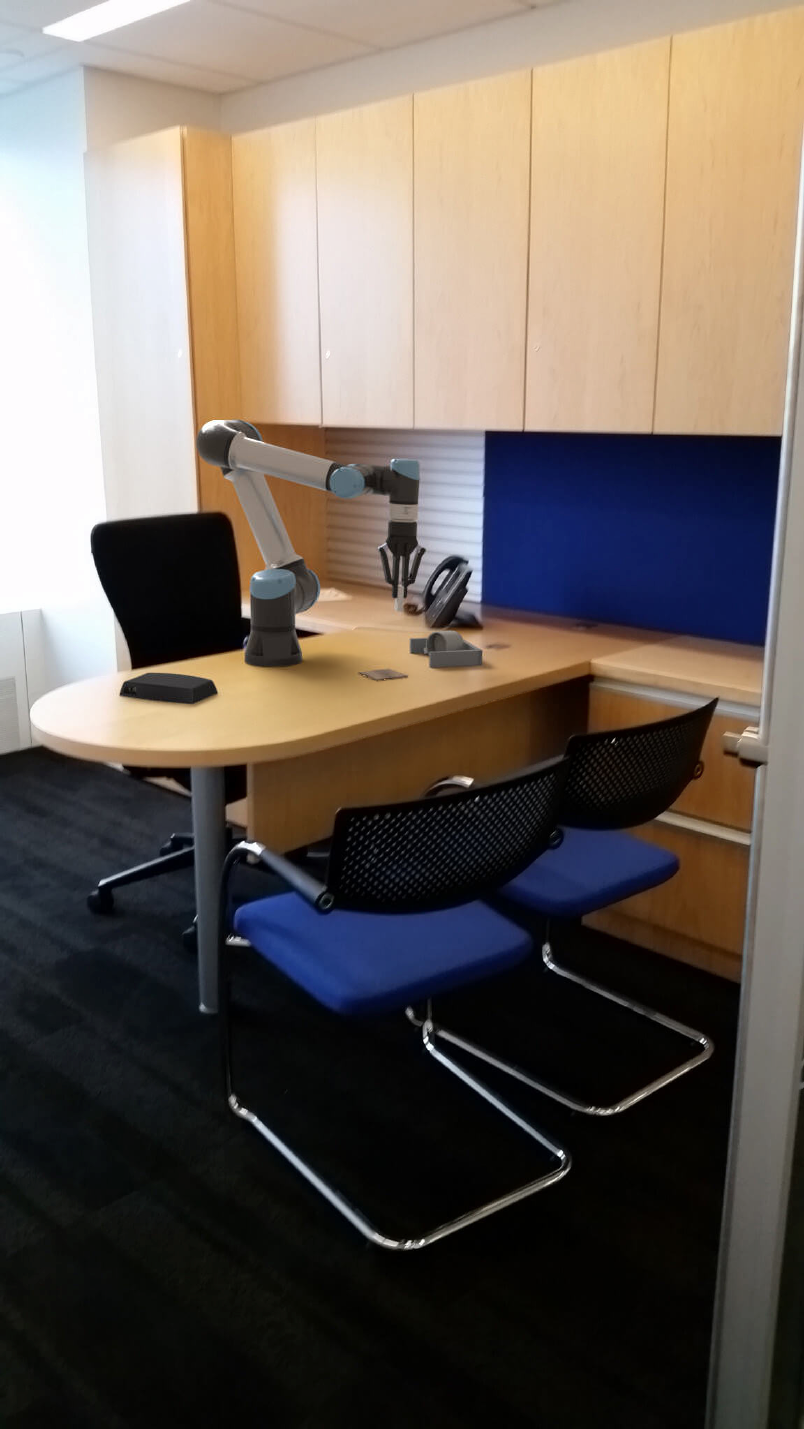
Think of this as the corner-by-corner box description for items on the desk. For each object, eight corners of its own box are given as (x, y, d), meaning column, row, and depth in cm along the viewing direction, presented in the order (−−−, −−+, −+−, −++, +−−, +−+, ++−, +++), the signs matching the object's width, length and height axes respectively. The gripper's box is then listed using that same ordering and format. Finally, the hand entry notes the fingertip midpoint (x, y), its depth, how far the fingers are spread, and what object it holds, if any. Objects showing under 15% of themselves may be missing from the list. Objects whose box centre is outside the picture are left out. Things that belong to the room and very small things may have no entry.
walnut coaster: (376, 683, 282) (376, 679, 282) (358, 676, 289) (358, 672, 289) (407, 679, 287) (407, 675, 286) (388, 672, 294) (388, 668, 294)
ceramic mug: (465, 657, 310) (466, 629, 308) (446, 662, 304) (446, 633, 303) (435, 652, 317) (436, 625, 315) (416, 656, 311) (416, 629, 309)
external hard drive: (148, 686, 274) (147, 669, 273) (219, 694, 268) (219, 677, 267) (117, 698, 262) (116, 680, 261) (191, 707, 256) (190, 689, 255)
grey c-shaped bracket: (430, 667, 298) (430, 652, 297) (409, 652, 316) (409, 638, 315) (481, 665, 301) (482, 650, 300) (458, 650, 319) (458, 636, 318)
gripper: (382, 521, 290) (378, 613, 297) (431, 522, 294) (426, 612, 300) (374, 518, 297) (371, 607, 303) (422, 519, 301) (418, 607, 307)
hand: (398, 610), depth 302 cm, fingers closed
